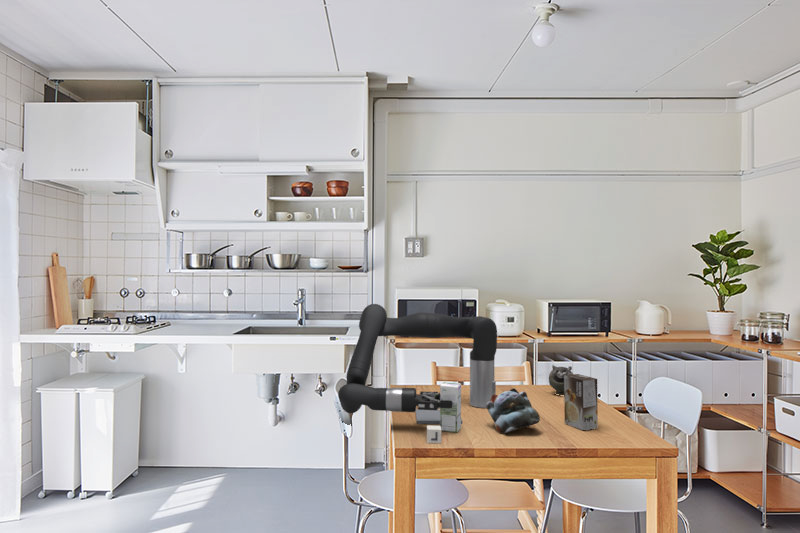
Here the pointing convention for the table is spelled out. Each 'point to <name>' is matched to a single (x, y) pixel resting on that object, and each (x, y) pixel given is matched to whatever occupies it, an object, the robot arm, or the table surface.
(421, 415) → the grey board
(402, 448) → the table surface
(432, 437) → the white letter cube
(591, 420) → the coffee box
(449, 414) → the syrup box
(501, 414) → the lucky cat figurine
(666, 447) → the table surface
